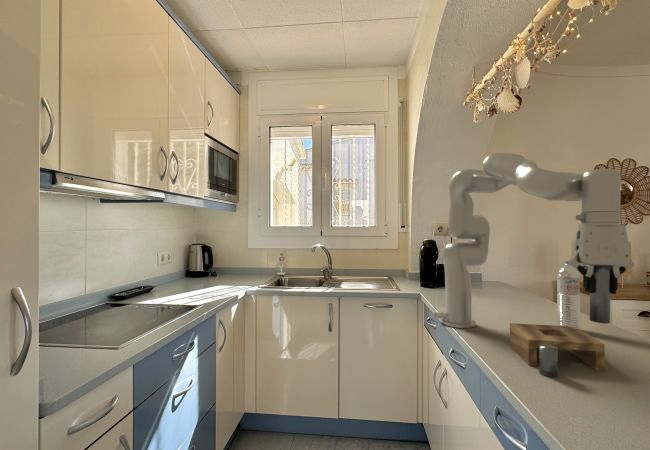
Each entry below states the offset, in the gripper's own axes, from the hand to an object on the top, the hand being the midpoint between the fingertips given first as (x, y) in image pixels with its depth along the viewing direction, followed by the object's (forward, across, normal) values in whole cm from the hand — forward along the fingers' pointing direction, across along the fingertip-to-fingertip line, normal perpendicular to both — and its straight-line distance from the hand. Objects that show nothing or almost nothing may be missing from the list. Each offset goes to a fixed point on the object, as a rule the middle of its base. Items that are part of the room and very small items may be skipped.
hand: (599, 291), depth 85 cm
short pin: (+22, -12, -1) cm, 25 cm away
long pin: (+7, 0, 0) cm, 7 cm away
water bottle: (+22, +11, +42) cm, 49 cm away
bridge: (+22, -6, +12) cm, 26 cm away
